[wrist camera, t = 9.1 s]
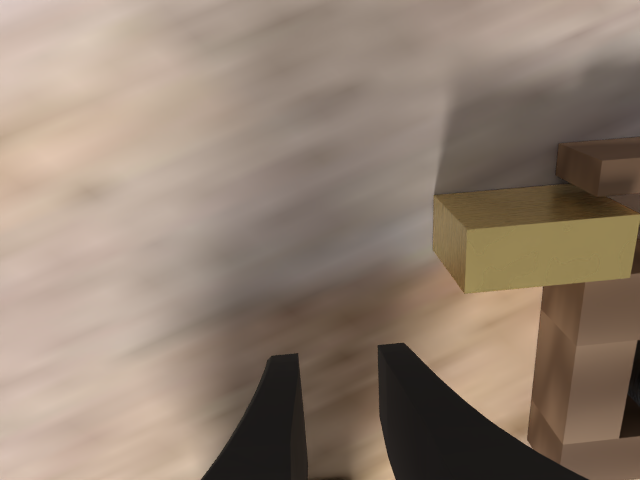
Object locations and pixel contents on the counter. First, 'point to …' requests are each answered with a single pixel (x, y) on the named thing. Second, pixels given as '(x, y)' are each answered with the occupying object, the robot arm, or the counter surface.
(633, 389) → the peg
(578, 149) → the mount
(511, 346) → the counter surface
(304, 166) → the counter surface
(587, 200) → the khaki rectangular plank
